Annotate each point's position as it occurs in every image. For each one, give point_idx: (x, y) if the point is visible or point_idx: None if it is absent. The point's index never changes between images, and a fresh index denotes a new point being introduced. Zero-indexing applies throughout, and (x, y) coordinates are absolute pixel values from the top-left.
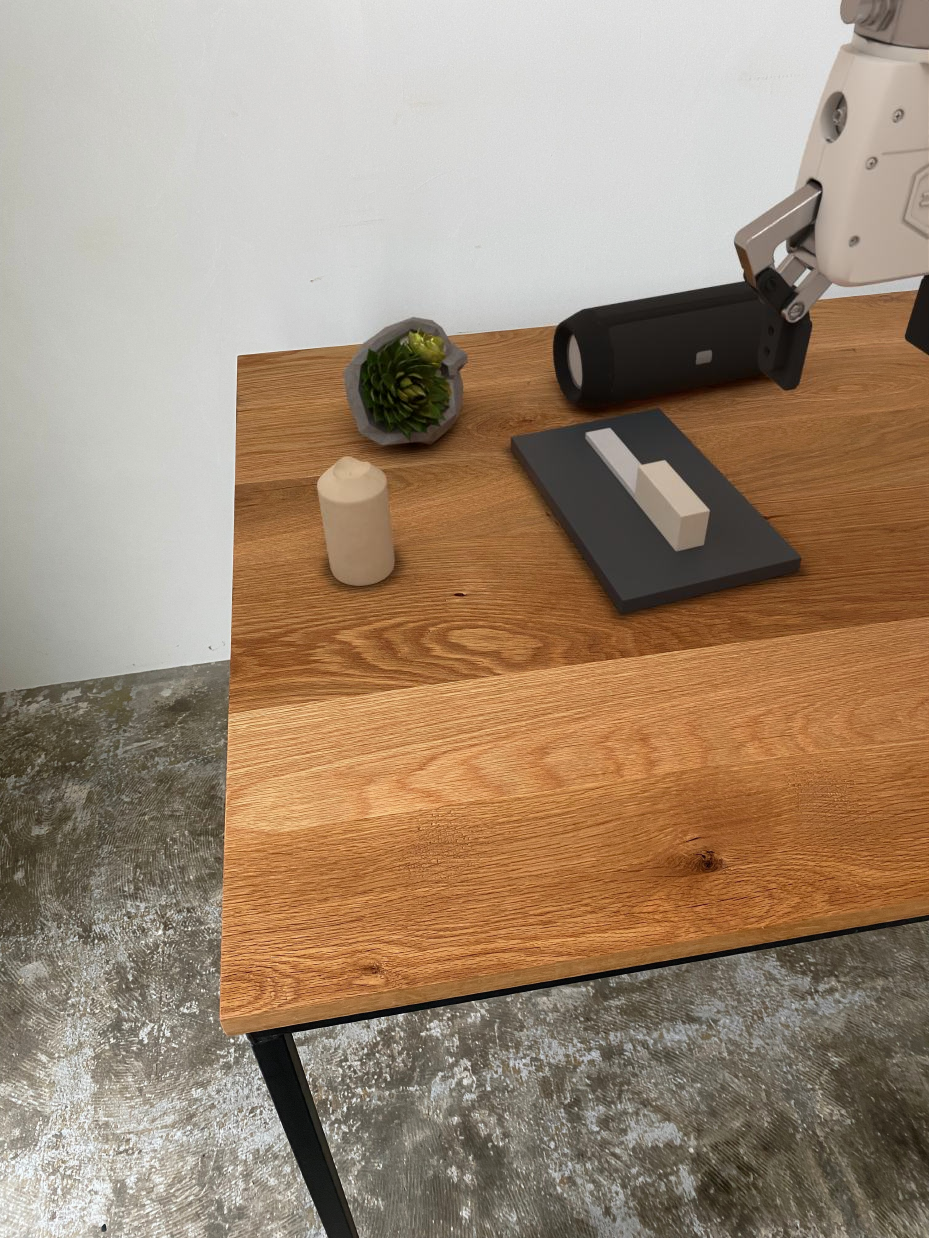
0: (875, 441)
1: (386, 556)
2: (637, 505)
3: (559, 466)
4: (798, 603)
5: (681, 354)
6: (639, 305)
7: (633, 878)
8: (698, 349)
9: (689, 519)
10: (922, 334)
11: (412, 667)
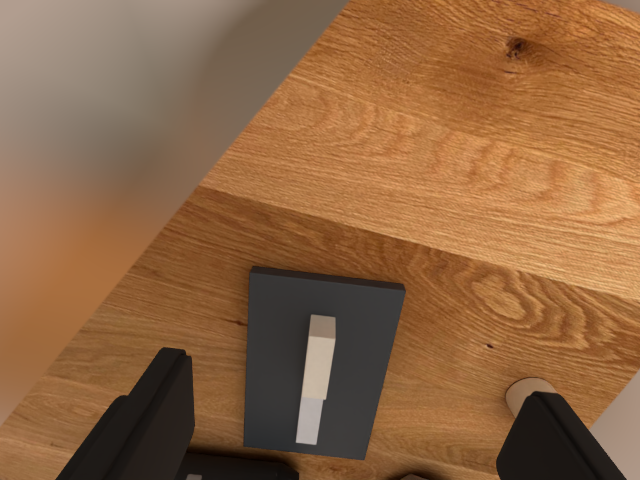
0: (101, 356)
1: (530, 394)
2: None
3: (353, 423)
4: (275, 238)
5: None
6: None
7: (573, 60)
8: None
9: (327, 335)
10: (180, 424)
11: (564, 301)
